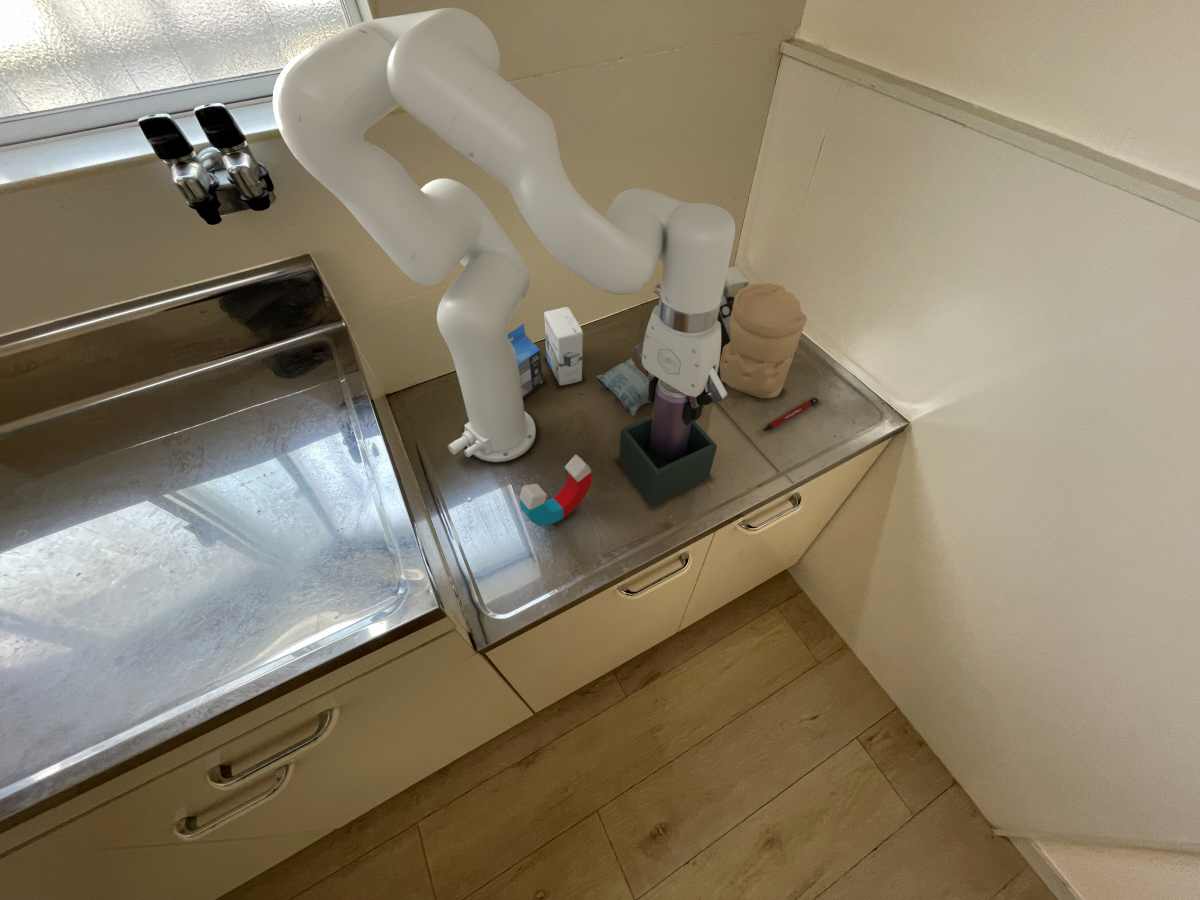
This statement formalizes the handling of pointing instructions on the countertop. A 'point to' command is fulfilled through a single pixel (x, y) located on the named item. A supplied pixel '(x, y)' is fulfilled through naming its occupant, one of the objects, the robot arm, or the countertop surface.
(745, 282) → the cosmetic box
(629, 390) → the packaged food
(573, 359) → the ink box
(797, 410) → the pencil
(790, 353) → the container
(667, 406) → the beverage can
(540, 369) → the blue cardboard box
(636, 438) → the waste bin
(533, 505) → the magnet
